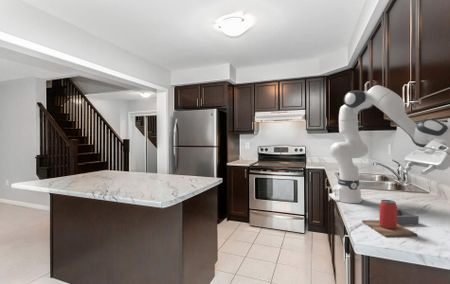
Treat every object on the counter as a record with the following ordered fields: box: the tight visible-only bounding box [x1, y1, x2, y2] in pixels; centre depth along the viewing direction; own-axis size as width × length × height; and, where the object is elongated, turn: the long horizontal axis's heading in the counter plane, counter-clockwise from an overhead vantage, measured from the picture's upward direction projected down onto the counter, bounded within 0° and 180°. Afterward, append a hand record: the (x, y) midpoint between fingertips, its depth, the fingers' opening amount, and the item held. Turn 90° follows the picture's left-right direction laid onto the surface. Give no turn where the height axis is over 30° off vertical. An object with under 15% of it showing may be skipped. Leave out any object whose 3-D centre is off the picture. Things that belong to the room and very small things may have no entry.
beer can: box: [378, 199, 398, 229], centre depth 105 cm, size 7×7×12 cm
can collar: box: [397, 208, 420, 226], centre depth 115 cm, size 11×11×4 cm
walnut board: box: [361, 219, 418, 238], centre depth 105 cm, size 16×14×1 cm
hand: (414, 171), depth 108 cm, fingers open, 8 cm apart
